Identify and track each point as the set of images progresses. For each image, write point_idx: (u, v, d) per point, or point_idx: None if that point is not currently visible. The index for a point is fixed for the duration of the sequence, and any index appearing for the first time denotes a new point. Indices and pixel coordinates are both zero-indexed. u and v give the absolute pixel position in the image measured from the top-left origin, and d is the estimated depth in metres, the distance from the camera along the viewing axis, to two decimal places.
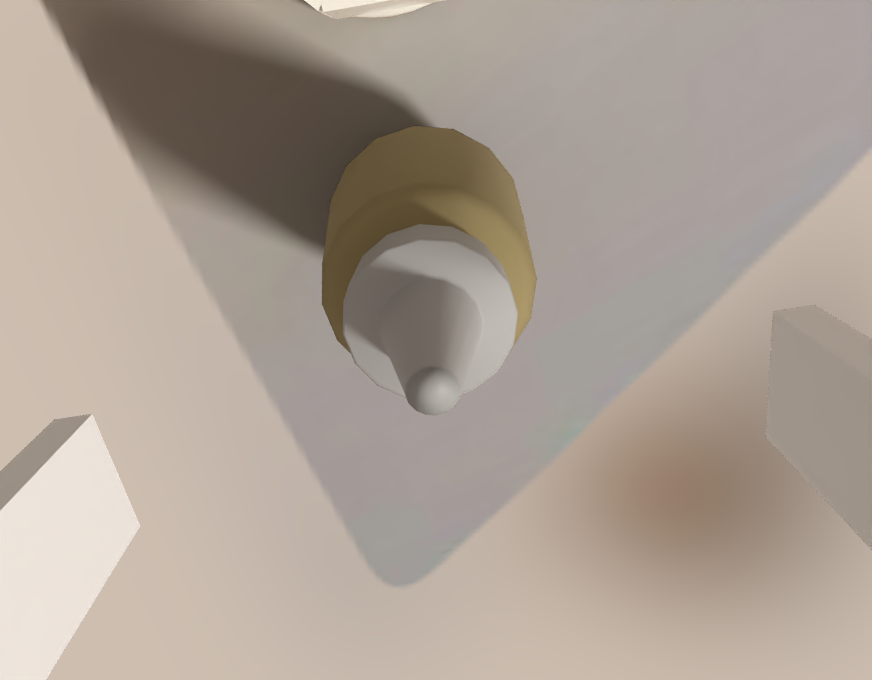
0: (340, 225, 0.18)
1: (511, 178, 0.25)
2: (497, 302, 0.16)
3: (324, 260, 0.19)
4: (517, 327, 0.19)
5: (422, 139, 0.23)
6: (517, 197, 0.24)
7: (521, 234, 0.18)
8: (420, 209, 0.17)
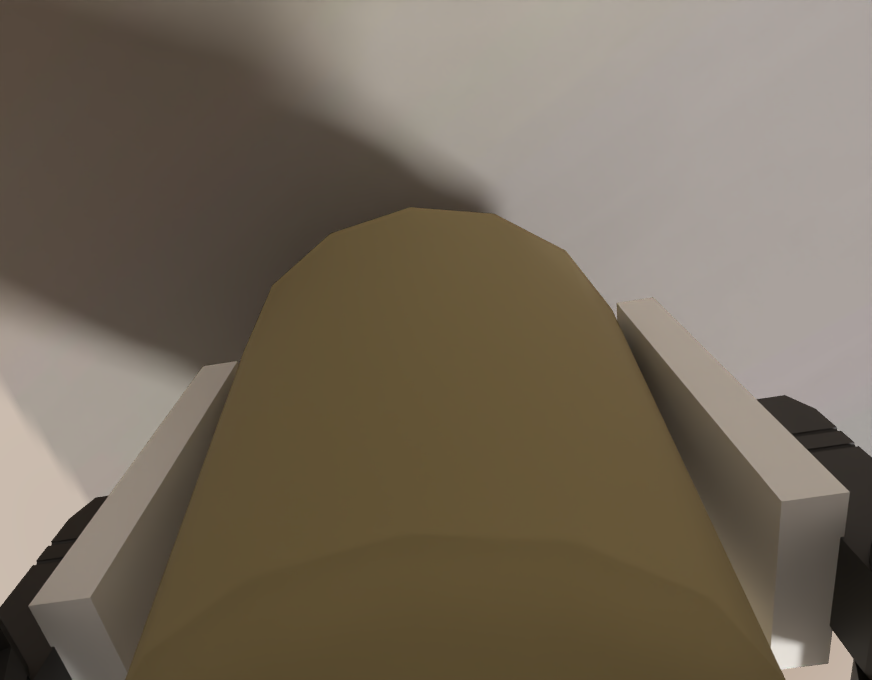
0: (145, 656, 0.05)
1: (611, 313, 0.12)
2: None
3: None
4: None
5: (429, 255, 0.10)
6: None
7: (773, 670, 0.05)
8: (428, 654, 0.04)
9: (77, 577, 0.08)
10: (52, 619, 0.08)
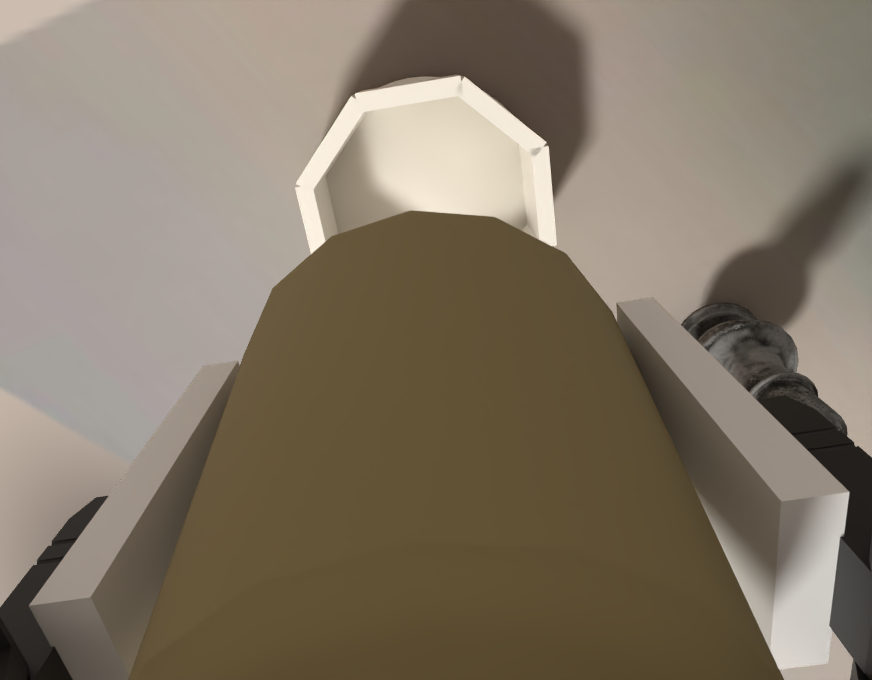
0: (146, 663, 0.05)
1: (612, 315, 0.12)
2: None
3: None
4: None
5: (430, 258, 0.10)
6: None
7: (775, 677, 0.05)
8: (430, 662, 0.04)
9: (78, 577, 0.08)
10: (53, 619, 0.08)
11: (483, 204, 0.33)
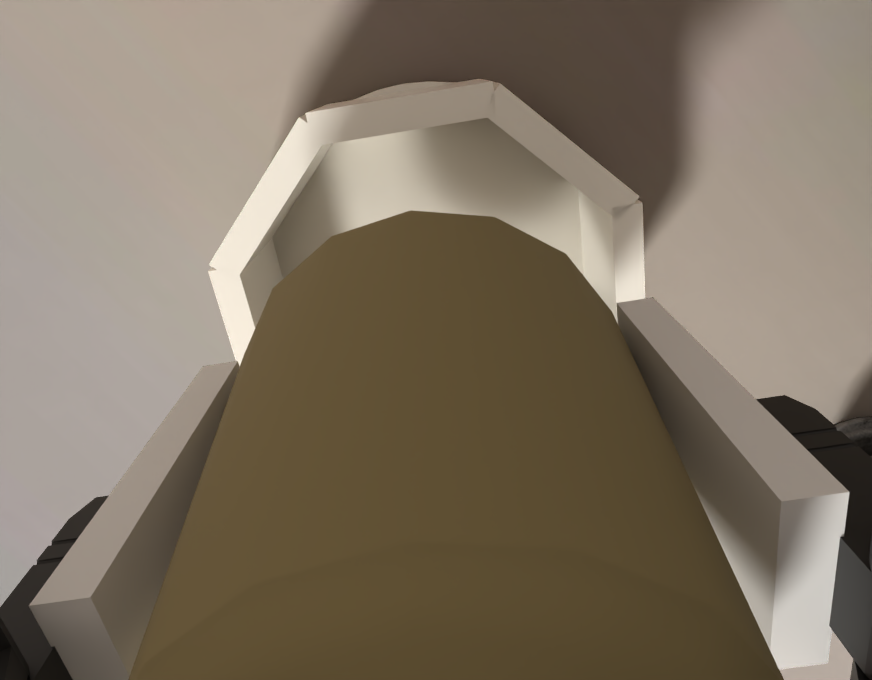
0: (146, 663, 0.05)
1: (612, 315, 0.12)
2: None
3: None
4: None
5: (430, 258, 0.10)
6: None
7: (775, 677, 0.05)
8: (430, 662, 0.04)
9: (77, 577, 0.08)
10: (52, 619, 0.08)
11: None
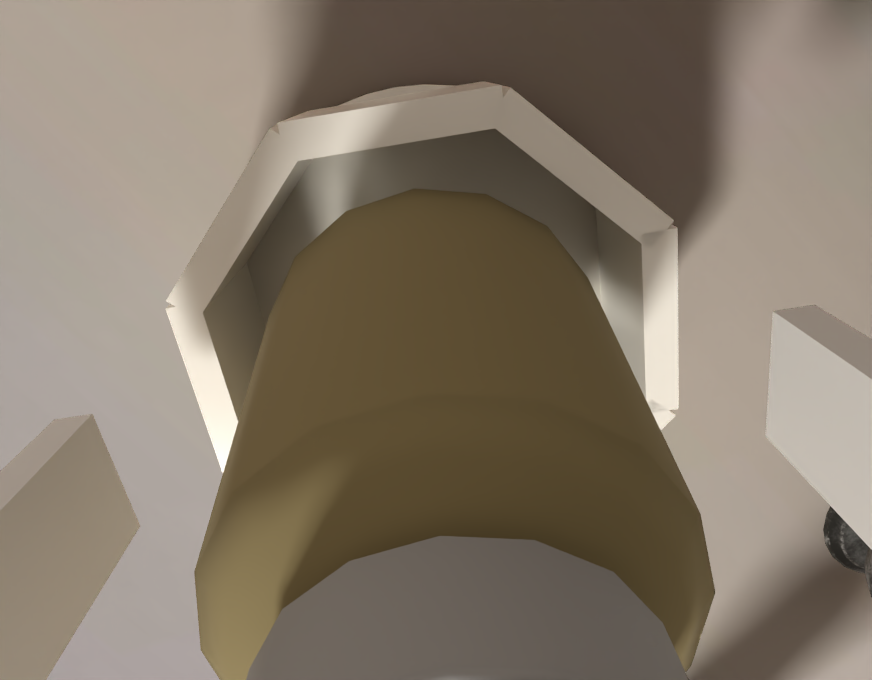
0: (233, 492, 0.07)
1: (587, 279, 0.14)
2: None
3: (199, 565, 0.07)
4: None
5: (432, 223, 0.12)
6: None
7: (690, 504, 0.07)
8: (441, 472, 0.06)
9: None
10: None
11: None
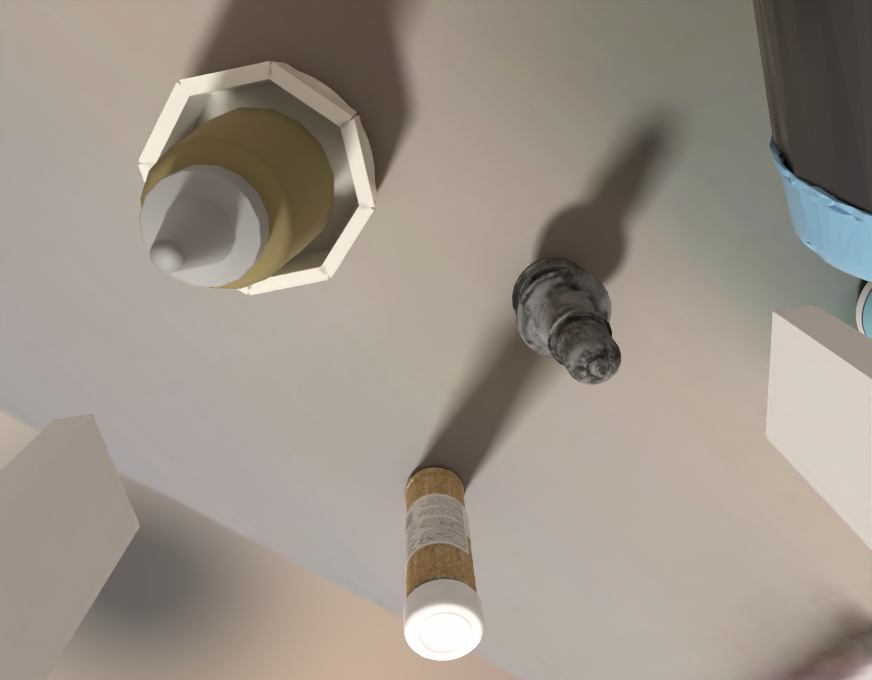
0: (149, 170, 0.26)
1: (318, 144, 0.33)
2: (243, 213, 0.24)
3: (141, 196, 0.26)
4: (285, 240, 0.27)
5: (236, 115, 0.31)
6: (315, 157, 0.32)
7: (278, 172, 0.26)
8: (199, 155, 0.25)
9: None
10: None
11: None
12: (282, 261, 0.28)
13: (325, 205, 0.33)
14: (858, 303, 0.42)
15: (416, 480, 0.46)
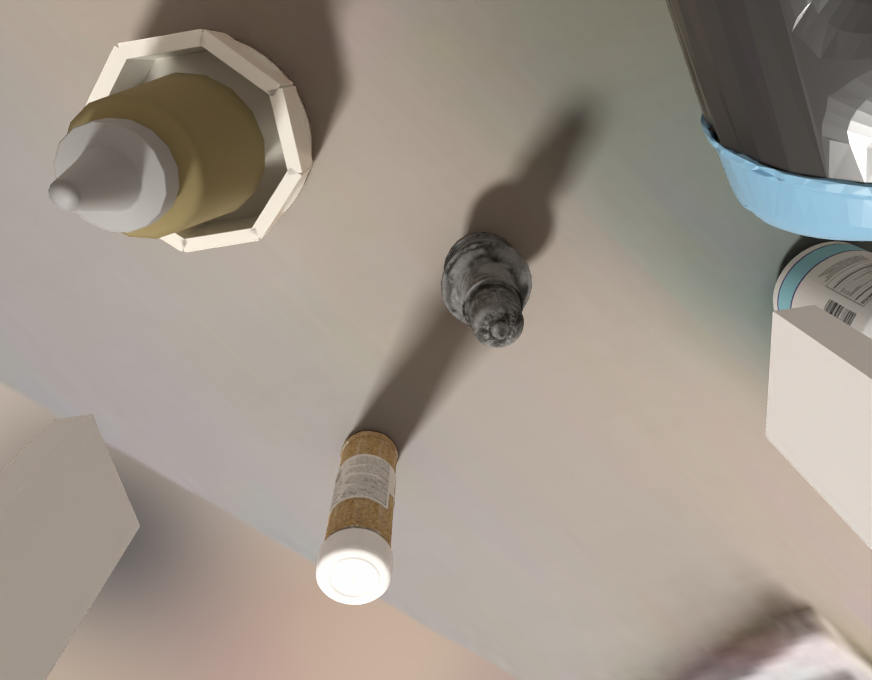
0: None
1: (248, 111, 0.35)
2: (149, 163, 0.26)
3: None
4: (197, 194, 0.29)
5: (166, 78, 0.33)
6: (242, 121, 0.34)
7: (190, 130, 0.28)
8: (115, 110, 0.27)
9: None
10: None
11: None
12: (195, 214, 0.30)
13: (251, 168, 0.35)
14: (775, 289, 0.44)
15: (351, 442, 0.48)
